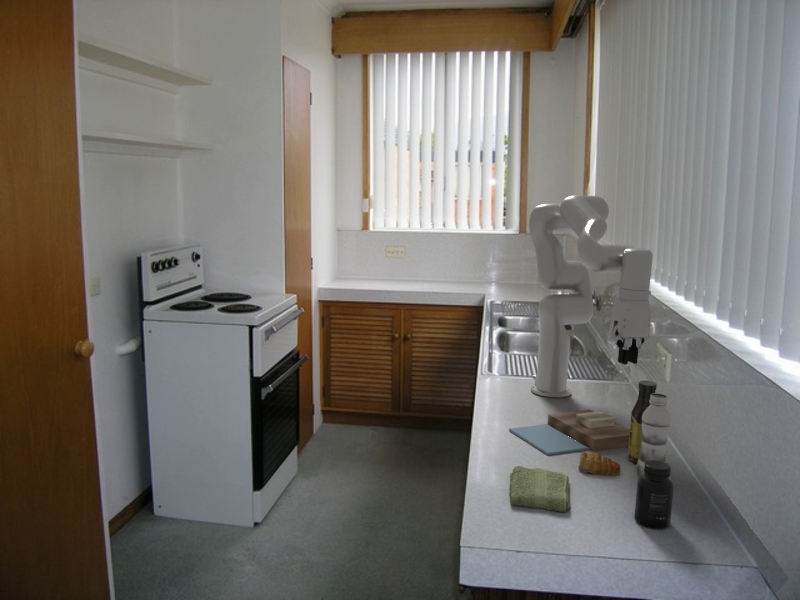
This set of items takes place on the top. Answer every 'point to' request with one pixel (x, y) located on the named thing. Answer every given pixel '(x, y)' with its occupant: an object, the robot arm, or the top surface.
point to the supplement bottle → (654, 496)
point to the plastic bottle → (654, 431)
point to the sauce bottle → (639, 418)
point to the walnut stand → (590, 431)
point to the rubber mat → (548, 439)
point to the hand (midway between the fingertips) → (627, 362)
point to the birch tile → (595, 419)
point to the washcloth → (539, 489)
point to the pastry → (598, 464)
